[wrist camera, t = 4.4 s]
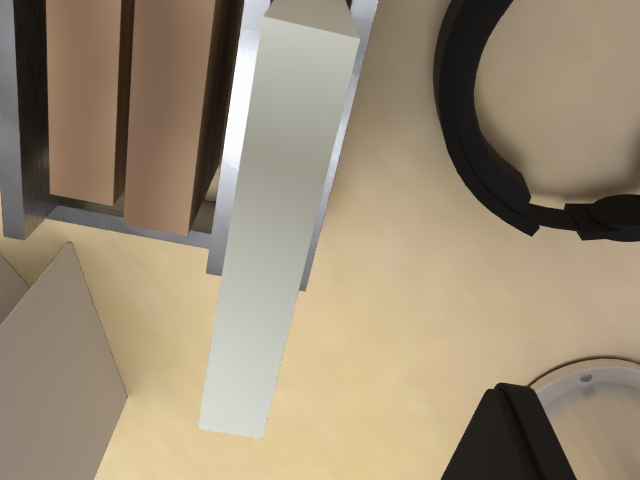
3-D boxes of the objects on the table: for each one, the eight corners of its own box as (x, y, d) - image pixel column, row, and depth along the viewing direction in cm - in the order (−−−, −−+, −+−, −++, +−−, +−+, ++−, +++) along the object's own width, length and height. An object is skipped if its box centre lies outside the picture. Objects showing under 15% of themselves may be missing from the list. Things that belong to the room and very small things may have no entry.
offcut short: (169, -68, 28) (123, -67, 21) (153, 152, 34) (112, 206, 27) (109, -83, 27) (44, -87, 21) (103, 142, 33) (50, 194, 27)
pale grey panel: (335, -27, 29) (360, 39, 11) (291, 181, 34) (262, 438, 17) (297, -36, 28) (263, 16, 11) (259, 174, 34) (197, 429, 17)
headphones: (848, 256, 28) (441, 270, 31) (758, 192, 34) (432, 208, 37) (1026, -180, 19) (439, -102, 22) (860, -152, 26) (428, -94, 29)
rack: (383, -96, 27) (405, -105, 20) (304, 234, 36) (301, 306, 29) (67, -179, 25) (-29, -221, 18) (68, 188, 35) (4, 253, 28)
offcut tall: (248, -49, 28) (220, -41, 20) (218, 165, 34) (187, 236, 26) (189, -63, 28) (137, -61, 20) (169, 155, 34) (123, 224, 26)
